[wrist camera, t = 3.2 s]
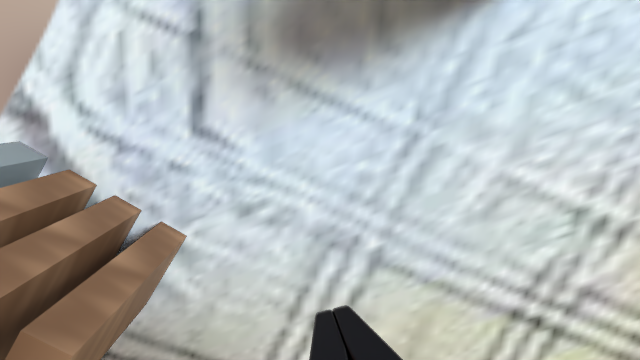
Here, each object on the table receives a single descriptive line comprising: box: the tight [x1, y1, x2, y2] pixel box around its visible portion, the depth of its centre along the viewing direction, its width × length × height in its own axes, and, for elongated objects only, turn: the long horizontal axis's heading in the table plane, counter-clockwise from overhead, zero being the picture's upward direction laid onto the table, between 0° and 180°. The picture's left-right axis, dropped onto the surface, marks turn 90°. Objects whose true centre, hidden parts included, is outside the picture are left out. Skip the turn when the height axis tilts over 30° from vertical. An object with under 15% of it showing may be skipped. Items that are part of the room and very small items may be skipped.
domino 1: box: [5, 222, 187, 360], centre depth 16 cm, size 2×5×10 cm, turn 147°
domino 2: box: [0, 196, 141, 360], centre depth 15 cm, size 2×5×10 cm, turn 147°
